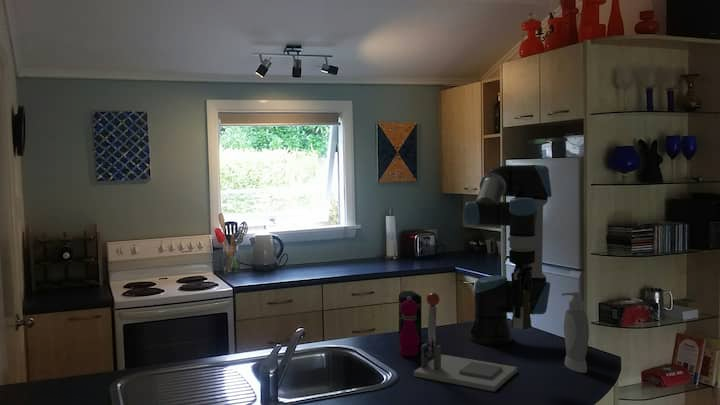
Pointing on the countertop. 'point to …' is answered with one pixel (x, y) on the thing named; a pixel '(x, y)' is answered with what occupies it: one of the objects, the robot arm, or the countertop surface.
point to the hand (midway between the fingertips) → (521, 325)
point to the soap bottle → (576, 334)
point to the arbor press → (463, 371)
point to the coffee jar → (417, 299)
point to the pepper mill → (409, 328)
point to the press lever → (431, 324)
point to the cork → (525, 311)
